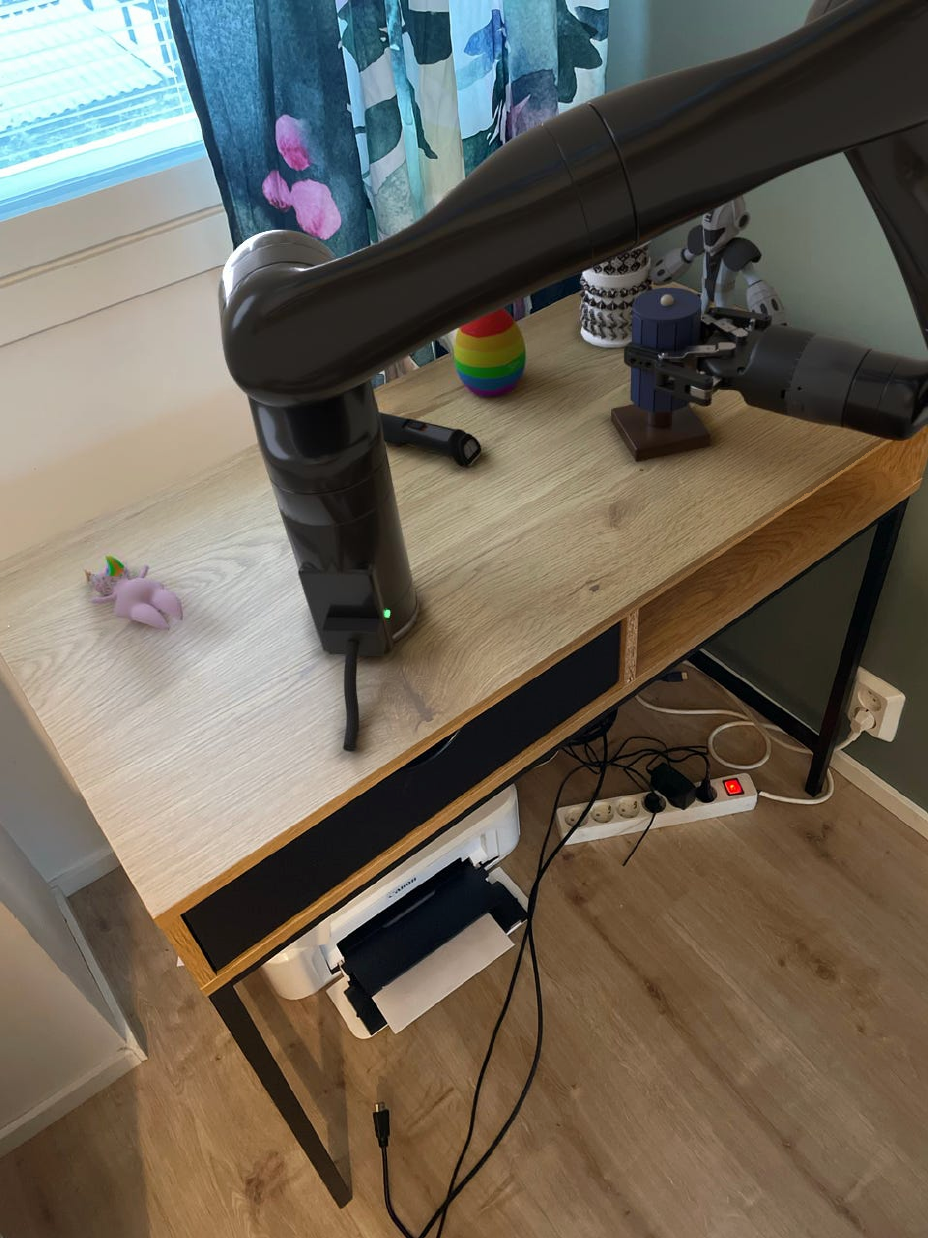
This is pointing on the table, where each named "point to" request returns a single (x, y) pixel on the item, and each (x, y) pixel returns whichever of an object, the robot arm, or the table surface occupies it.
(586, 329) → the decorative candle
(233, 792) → the table surface
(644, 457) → the hat peg
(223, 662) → the table surface
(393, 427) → the electric trimmer
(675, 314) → the slatted storage jar
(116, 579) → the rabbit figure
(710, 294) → the robot
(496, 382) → the decorative egg
